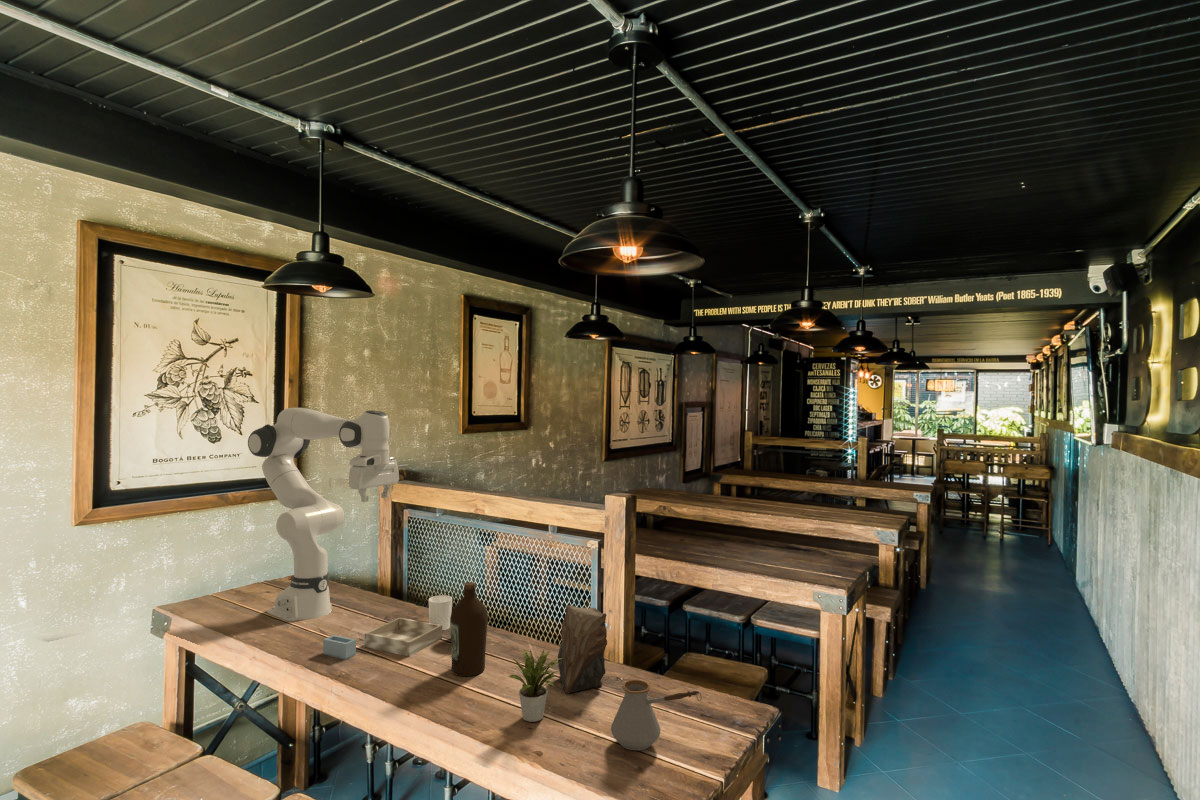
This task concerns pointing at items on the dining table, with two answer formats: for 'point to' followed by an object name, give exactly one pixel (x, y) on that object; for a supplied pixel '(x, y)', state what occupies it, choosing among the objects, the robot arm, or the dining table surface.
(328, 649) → the box
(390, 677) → the dining table surface
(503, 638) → the dining table surface
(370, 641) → the beige shallow tray
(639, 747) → the coffee pot
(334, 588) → the dining table surface
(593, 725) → the dining table surface
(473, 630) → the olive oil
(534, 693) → the house plant
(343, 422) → the robot arm
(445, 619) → the white cup
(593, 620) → the brown rock
